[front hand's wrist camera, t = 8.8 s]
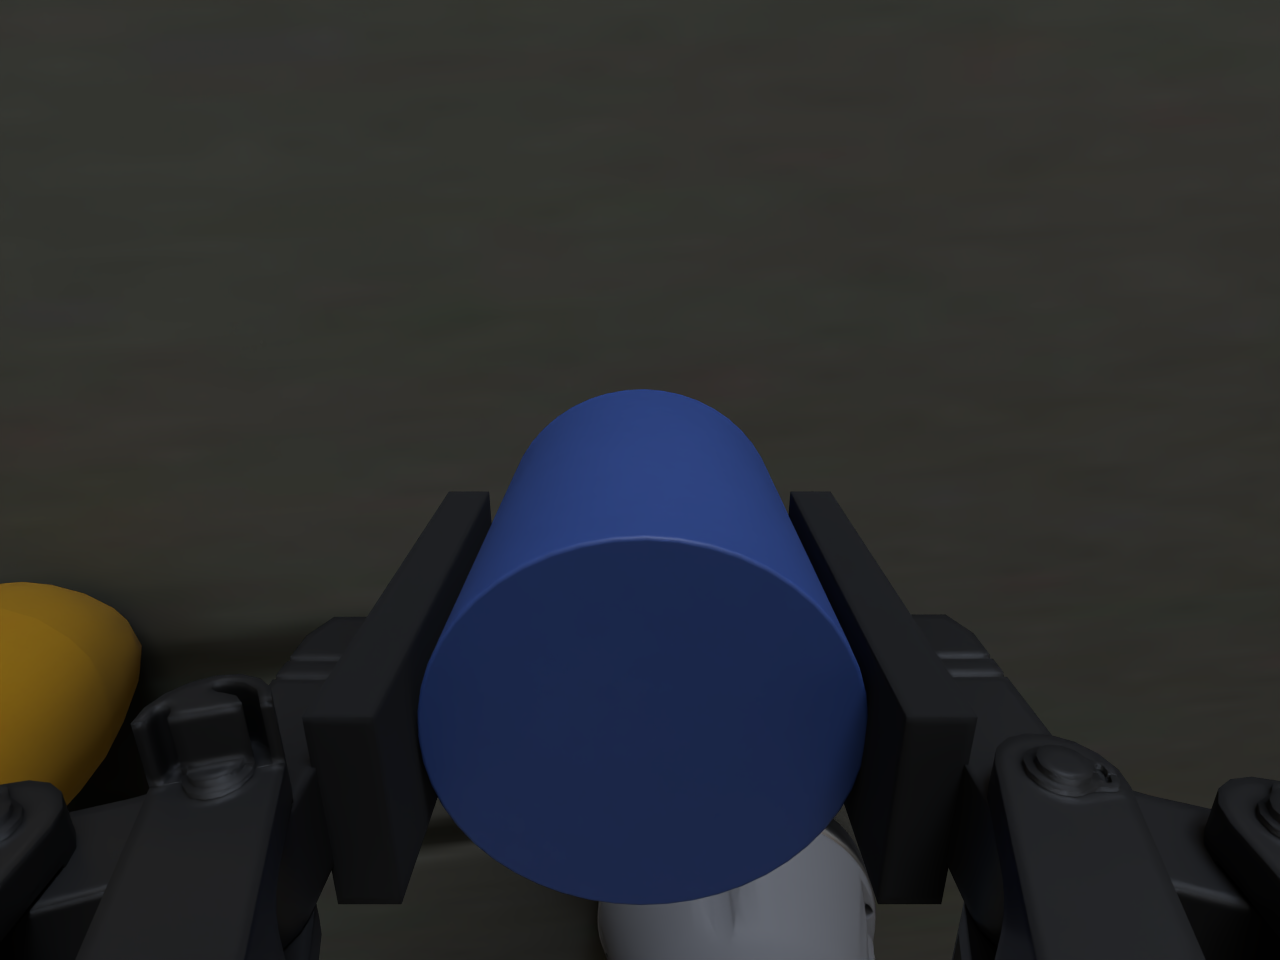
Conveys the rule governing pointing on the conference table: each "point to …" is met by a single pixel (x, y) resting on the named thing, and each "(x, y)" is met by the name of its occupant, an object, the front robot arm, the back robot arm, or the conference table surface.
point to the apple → (61, 683)
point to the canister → (642, 665)
